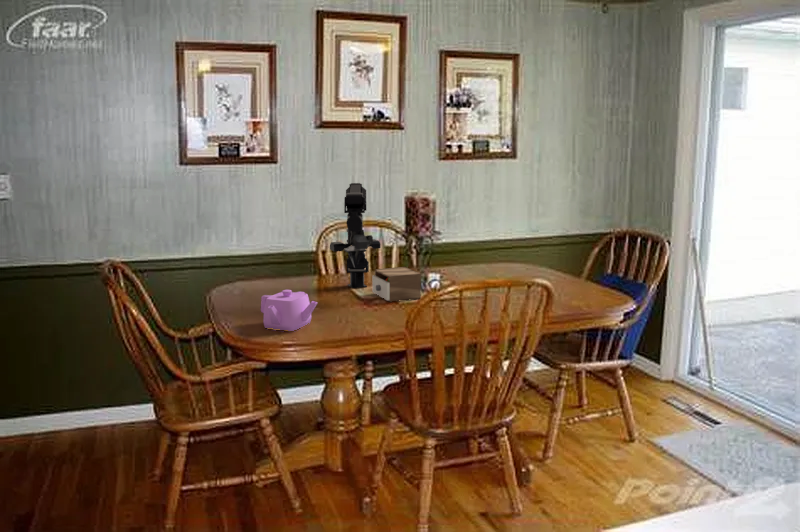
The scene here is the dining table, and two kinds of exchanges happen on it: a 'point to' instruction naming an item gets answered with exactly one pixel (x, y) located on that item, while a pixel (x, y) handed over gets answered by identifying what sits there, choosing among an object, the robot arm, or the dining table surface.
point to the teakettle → (287, 310)
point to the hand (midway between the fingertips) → (355, 267)
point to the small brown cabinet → (401, 282)
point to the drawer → (381, 287)
